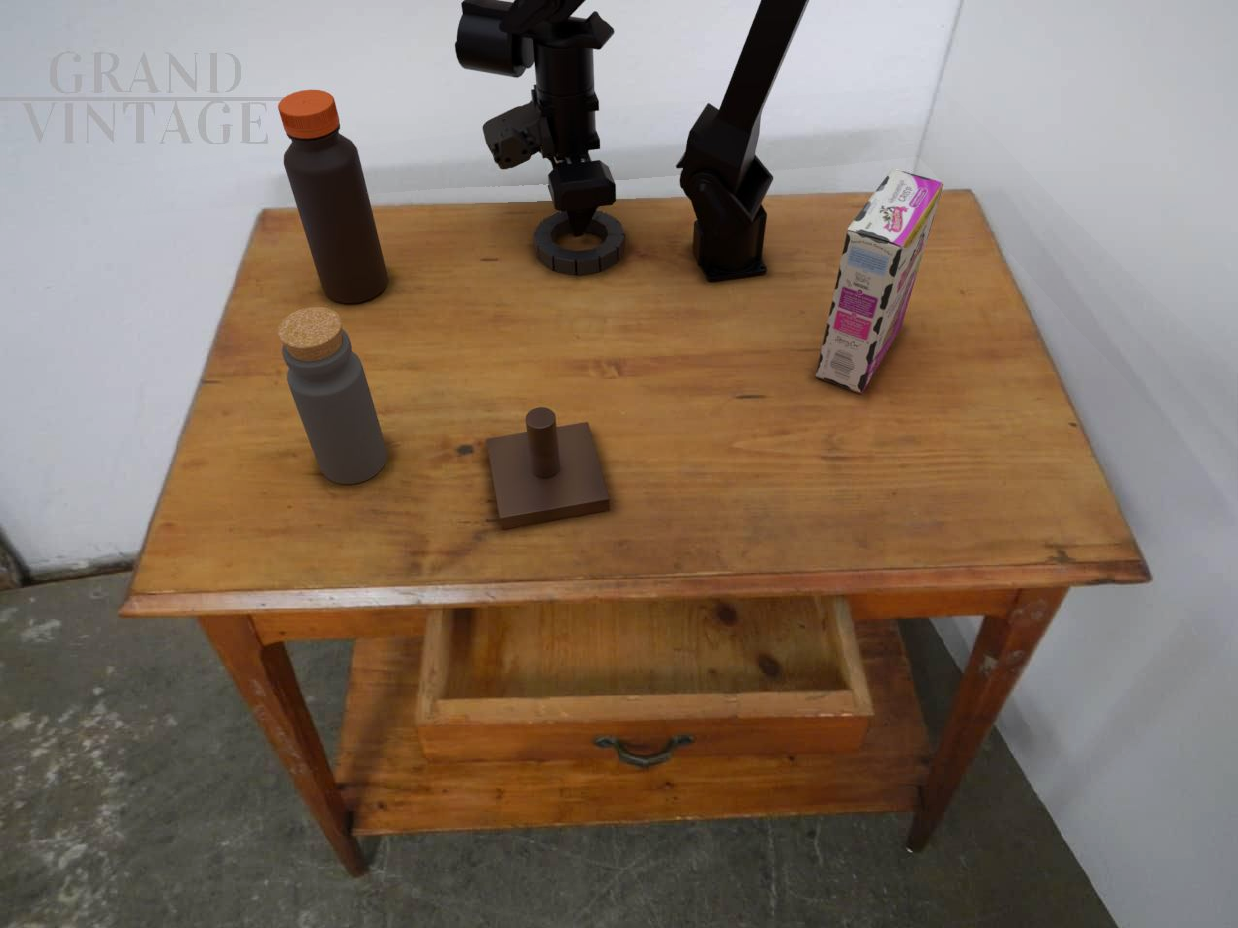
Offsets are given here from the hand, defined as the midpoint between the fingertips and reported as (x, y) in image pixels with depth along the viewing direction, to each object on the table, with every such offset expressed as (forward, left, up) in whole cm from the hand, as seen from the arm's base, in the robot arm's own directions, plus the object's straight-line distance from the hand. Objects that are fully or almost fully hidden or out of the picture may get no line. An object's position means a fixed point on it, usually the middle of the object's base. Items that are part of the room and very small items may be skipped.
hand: (572, 219), depth 103 cm
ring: (0, +4, -1) cm, 4 cm away
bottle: (+25, +30, -1) cm, 39 cm away
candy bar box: (-23, +27, -1) cm, 35 cm away
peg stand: (+9, +36, -1) cm, 37 cm away
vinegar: (+24, +5, -1) cm, 25 cm away
